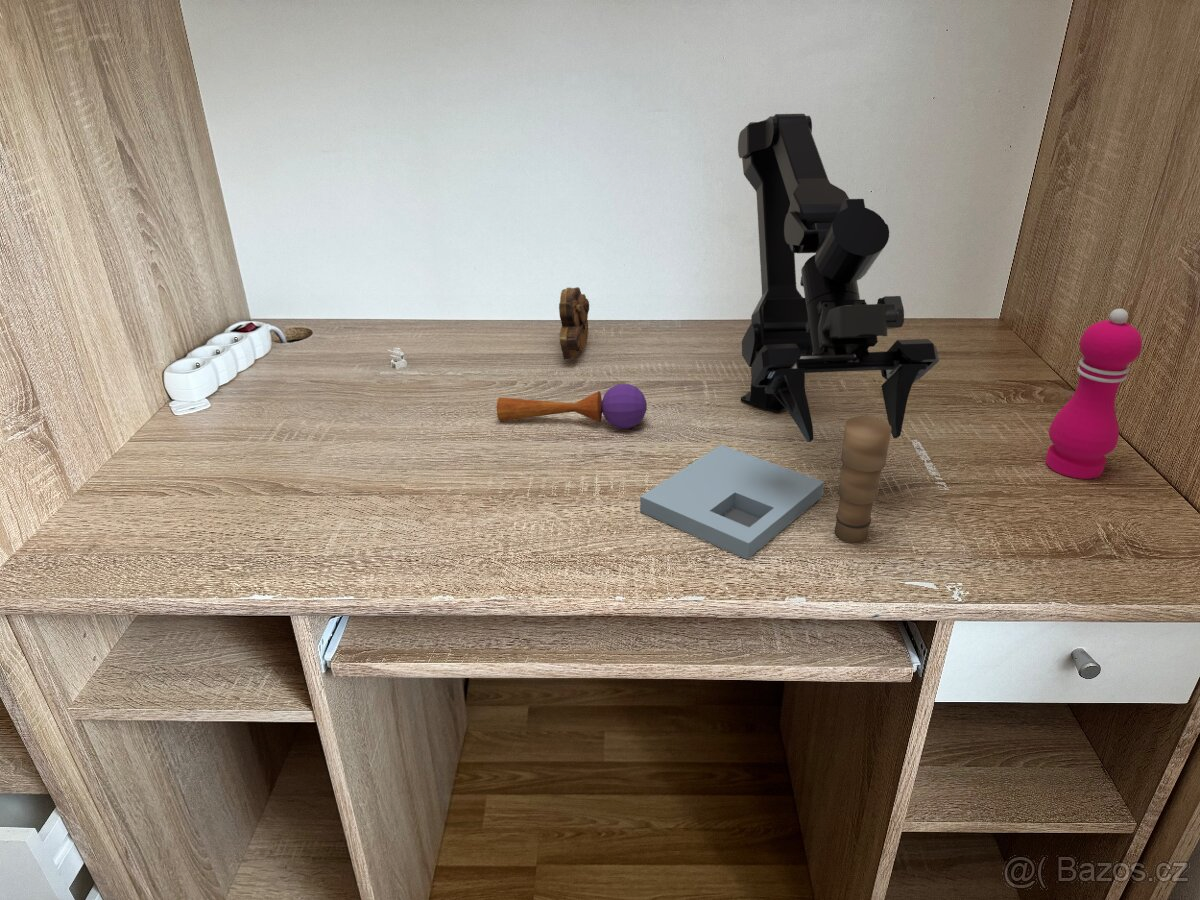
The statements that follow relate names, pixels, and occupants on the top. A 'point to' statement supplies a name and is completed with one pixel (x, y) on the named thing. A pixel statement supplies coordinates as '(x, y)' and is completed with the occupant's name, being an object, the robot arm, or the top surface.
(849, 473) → the leg
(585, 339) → the wooden carving
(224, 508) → the top surface
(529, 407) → the kendama
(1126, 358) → the pepper mill
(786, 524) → the seat board
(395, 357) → the white figurine
